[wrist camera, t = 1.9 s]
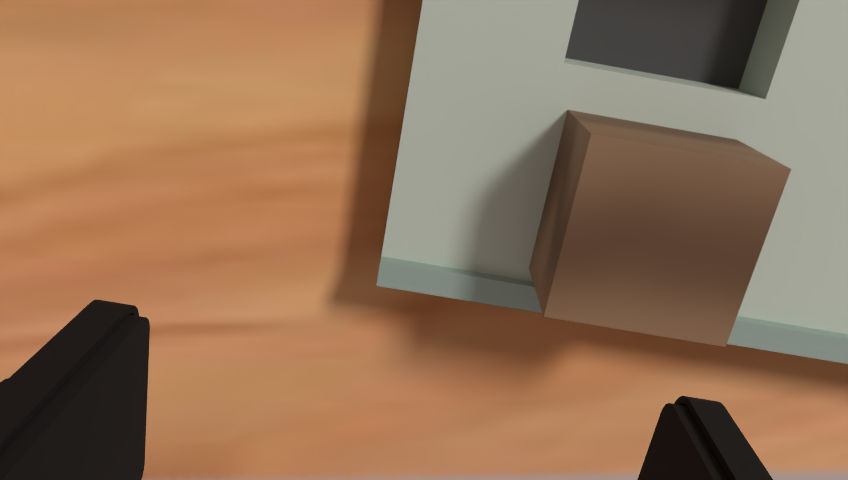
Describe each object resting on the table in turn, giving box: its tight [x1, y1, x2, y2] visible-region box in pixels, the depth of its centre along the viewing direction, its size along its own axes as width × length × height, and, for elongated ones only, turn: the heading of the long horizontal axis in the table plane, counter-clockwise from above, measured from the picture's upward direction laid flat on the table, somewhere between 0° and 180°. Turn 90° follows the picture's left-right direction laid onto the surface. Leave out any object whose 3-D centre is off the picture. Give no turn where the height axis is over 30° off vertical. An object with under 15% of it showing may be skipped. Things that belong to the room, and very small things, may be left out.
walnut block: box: [529, 110, 791, 347], centre depth 23 cm, size 6×6×4 cm
